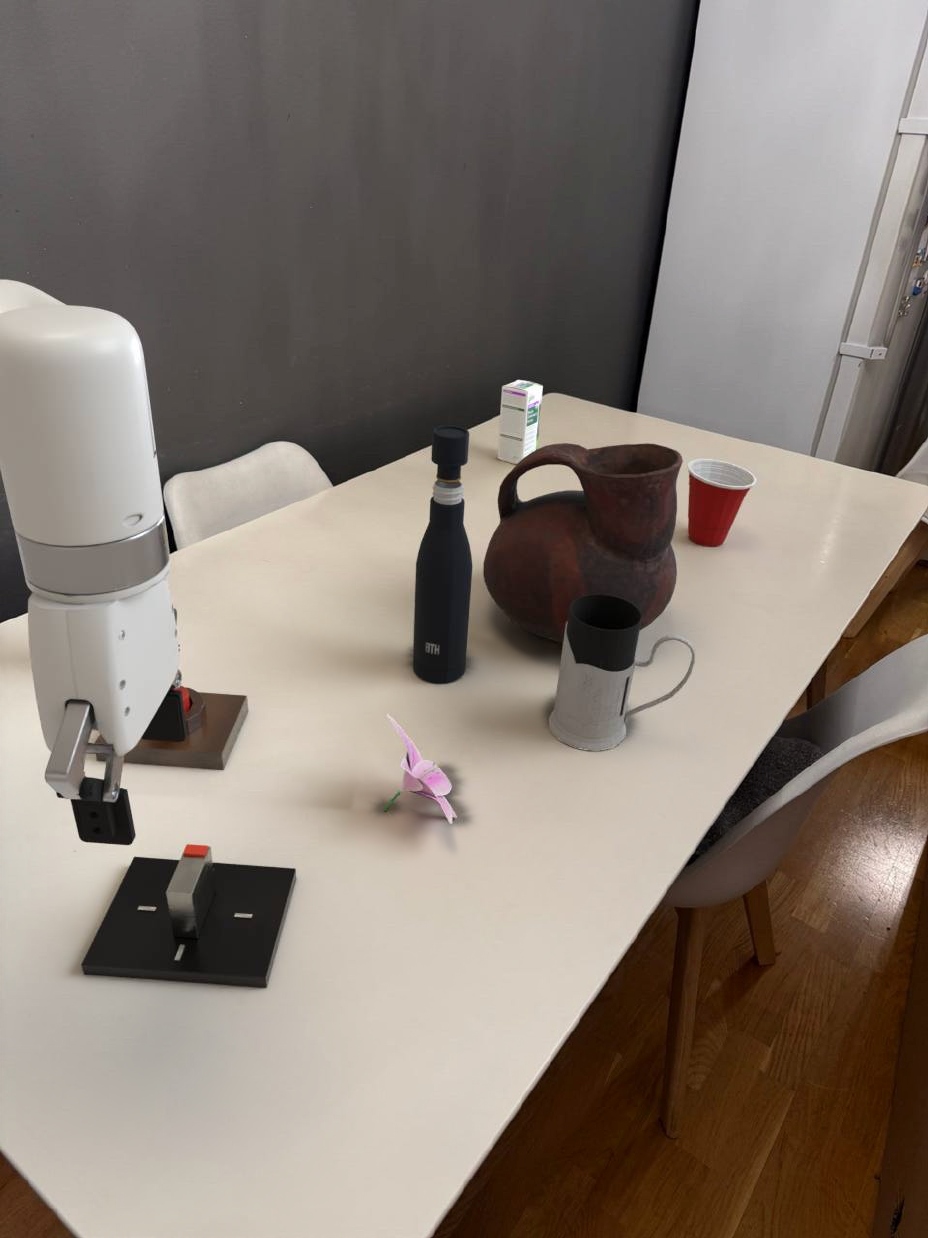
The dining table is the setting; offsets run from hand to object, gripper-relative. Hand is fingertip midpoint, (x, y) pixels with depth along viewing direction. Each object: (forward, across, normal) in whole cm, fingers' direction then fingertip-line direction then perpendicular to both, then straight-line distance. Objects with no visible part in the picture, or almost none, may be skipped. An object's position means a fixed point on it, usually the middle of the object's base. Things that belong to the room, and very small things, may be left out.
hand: (138, 785), depth 57 cm
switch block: (+21, -30, -10) cm, 38 cm away
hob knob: (+18, -5, 0) cm, 19 cm away
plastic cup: (+21, -90, +58) cm, 109 cm away
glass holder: (+21, -37, +37) cm, 56 cm away
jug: (+21, -61, +34) cm, 73 cm away
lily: (+21, -22, +17) cm, 35 cm away
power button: (+17, -30, -10) cm, 36 cm away
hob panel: (+21, -6, 0) cm, 22 cm away
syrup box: (+21, -121, +27) cm, 125 cm away
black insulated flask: (+21, -46, +17) cm, 54 cm away
